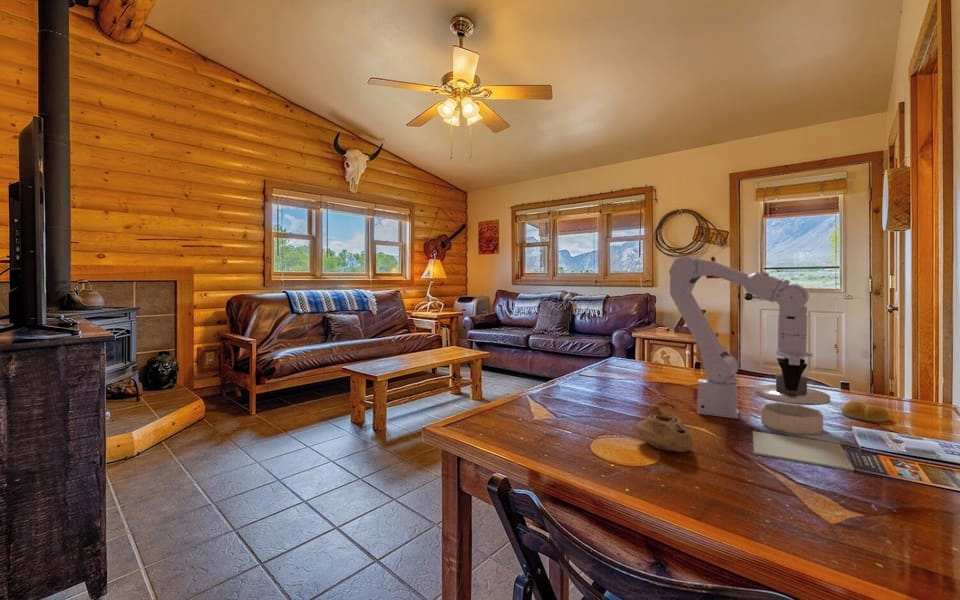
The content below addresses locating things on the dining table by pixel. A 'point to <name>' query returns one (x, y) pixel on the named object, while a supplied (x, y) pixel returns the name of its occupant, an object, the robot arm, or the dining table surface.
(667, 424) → the oil lamp
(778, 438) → the mat
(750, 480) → the dining table surface
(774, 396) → the lid
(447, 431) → the dining table surface
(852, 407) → the bread roll
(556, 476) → the dining table surface
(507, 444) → the dining table surface
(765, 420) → the bowl
